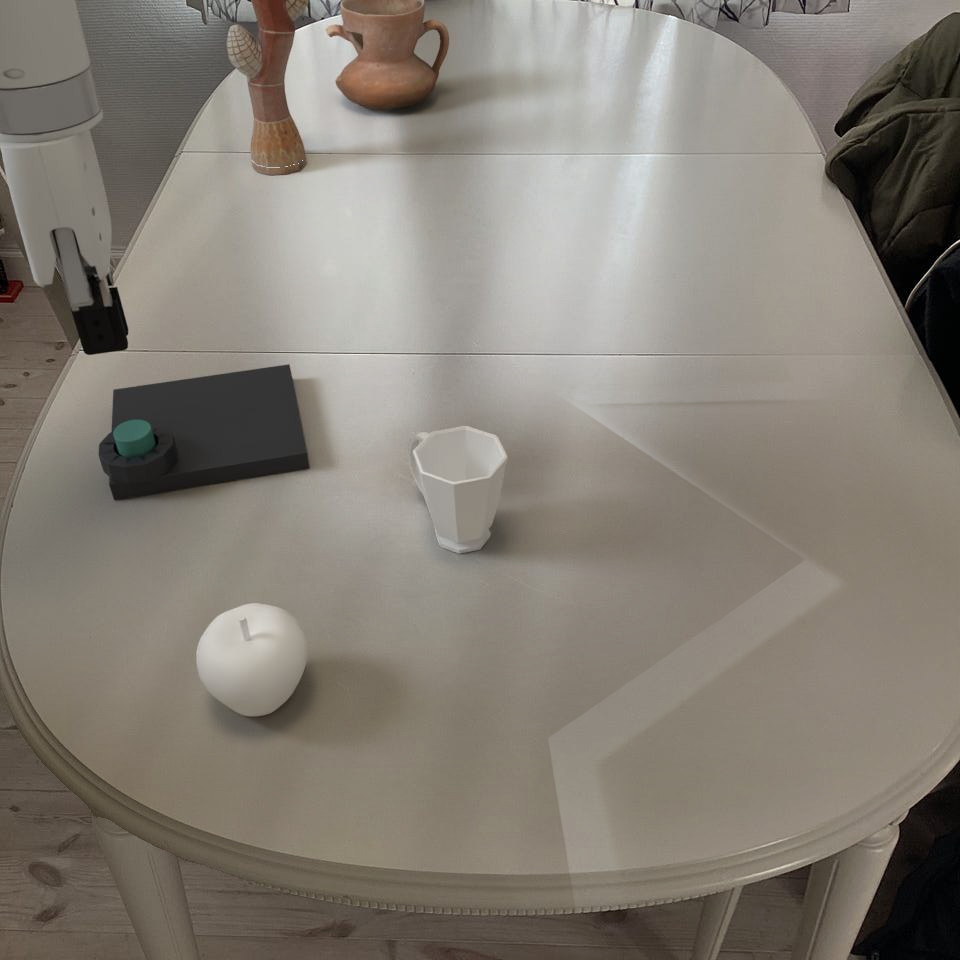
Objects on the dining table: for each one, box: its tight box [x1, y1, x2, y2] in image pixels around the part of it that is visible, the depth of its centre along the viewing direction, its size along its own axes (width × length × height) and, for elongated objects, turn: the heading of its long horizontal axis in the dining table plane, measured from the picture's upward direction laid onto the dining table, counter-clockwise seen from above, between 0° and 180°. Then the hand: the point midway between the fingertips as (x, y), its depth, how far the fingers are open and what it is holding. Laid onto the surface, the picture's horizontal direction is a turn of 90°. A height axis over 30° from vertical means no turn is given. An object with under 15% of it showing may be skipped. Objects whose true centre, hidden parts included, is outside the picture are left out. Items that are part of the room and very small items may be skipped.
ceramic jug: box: [325, 0, 450, 110], centre depth 150 cm, size 18×14×14 cm
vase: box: [226, 0, 309, 176], centre depth 127 cm, size 10×7×30 cm
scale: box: [98, 363, 310, 501], centre depth 88 cm, size 16×14×4 cm
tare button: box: [113, 420, 156, 458], centre depth 83 cm, size 3×3×2 cm
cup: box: [407, 425, 509, 555], centre depth 78 cm, size 7×10×8 cm
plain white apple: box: [195, 602, 308, 717], centre depth 65 cm, size 7×7×8 cm
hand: (107, 343), depth 77 cm, fingers closed
